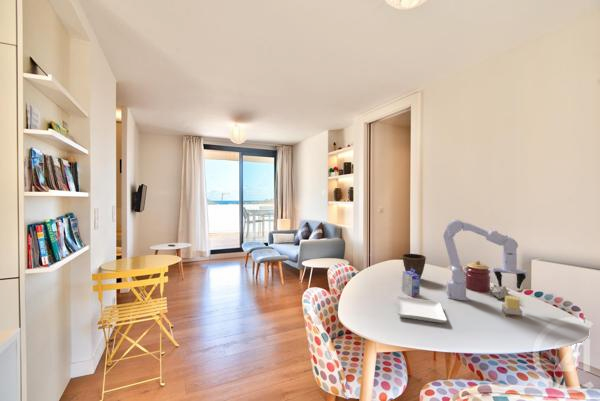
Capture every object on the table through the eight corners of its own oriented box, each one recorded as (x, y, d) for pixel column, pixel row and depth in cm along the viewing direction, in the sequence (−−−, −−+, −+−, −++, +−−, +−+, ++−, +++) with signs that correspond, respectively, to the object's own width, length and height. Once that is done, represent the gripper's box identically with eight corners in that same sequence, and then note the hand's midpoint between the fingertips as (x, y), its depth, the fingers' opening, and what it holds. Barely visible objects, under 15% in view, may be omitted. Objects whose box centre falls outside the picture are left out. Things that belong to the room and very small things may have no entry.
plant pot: (413, 283, 169) (413, 259, 169) (397, 277, 183) (397, 254, 183) (430, 281, 175) (430, 257, 174) (413, 274, 188) (413, 252, 188)
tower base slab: (505, 317, 124) (506, 312, 124) (502, 312, 130) (502, 307, 130) (521, 319, 122) (521, 315, 122) (516, 314, 127) (517, 310, 127)
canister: (493, 289, 158) (494, 261, 158) (484, 294, 151) (485, 264, 151) (470, 283, 169) (470, 256, 169) (461, 287, 162) (461, 259, 161)
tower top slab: (506, 313, 124) (506, 308, 124) (502, 307, 129) (502, 303, 129) (522, 315, 122) (522, 310, 122) (517, 310, 127) (517, 305, 127)
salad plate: (447, 327, 115) (448, 320, 115) (397, 320, 122) (397, 312, 122) (439, 307, 135) (439, 301, 135) (396, 302, 142) (396, 296, 142)
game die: (504, 306, 144) (516, 296, 138) (488, 299, 145) (499, 289, 139) (499, 293, 151) (511, 283, 145) (484, 287, 152) (495, 277, 146)
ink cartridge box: (420, 296, 149) (420, 271, 148) (411, 297, 148) (411, 272, 147) (409, 290, 158) (409, 266, 158) (401, 291, 157) (401, 267, 157)
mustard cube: (507, 308, 124) (508, 298, 124) (504, 304, 128) (505, 295, 128) (519, 309, 123) (519, 300, 122) (516, 305, 127) (516, 296, 127)
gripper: (494, 261, 133) (494, 287, 133) (530, 264, 127) (530, 291, 128) (490, 258, 140) (490, 283, 140) (524, 261, 134) (524, 286, 134)
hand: (509, 287), depth 134 cm, fingers open, 7 cm apart
